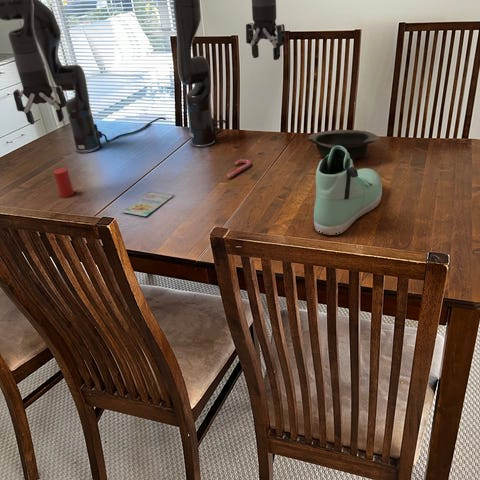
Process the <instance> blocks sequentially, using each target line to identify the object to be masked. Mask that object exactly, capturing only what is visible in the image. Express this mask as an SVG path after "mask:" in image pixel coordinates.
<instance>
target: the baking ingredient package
mask: <svg viewBox="0 0 480 480" xmlns="http://www.w3.org/2000/svg"><path fill="white" fill-rule="evenodd" d="M172 197H173V195H170V194H164V193H158V192H154V191H153V192H152V191H150V192H149V193H147V194H146V195H144V196H142V197H141V198H139V199H138V200H137V201H135V202H133V204H131V205H130V206H128V207H127V208H125V209H124V210H122V211H121V212H122V213H126V214H130V215H136V216H140V217H141V216H142V217H148V215H149V214H151V213H152V212H153V211H156V209H157V208H159V207H160V206H162V205H163V204H164V203H166V202H167V201H168V200H169V199H171V198H172Z"/></svg>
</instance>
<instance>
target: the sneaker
mask: <svg viewBox="0 0 480 480" xmlns="http://www.w3.org/2000/svg"><path fill="white" fill-rule="evenodd" d="M317 165H318V166H317V168H316V172H315V201H314V207H313V225H314V229H315V231H316V232H318V233H320V234H323V235H326V236H327V235H328V236H336V235H339V234H342V233H344V232H345V231H347V230H348V229H349V228H350V227H351V226H352V225H353V224H354V222H356V221H357V220H358V219H359V218H360V217H362V216H363V215H365V214H367V213H370V212H372V210H374V209H375V208H377V207H378V205H380V203H381V200H382V196H383V184H382V183H383V182H382V179H381V176H380V175H379V173H378V172H377V171H376V170H374V169H372V168H367V167H365V168H358V169H357V168H355V167H354V161H352V159H350V156H349V153H348V152H347V150H346V149H345V148H344V147H342V146H334V147H333V148H332V149H331V152H330V154H329V155H327V156H326V157H323V158H322V159H321V160H320V161H319V163H318V164H317ZM343 230H344V231H343ZM319 231H320V232H319ZM322 232H323V233H322ZM339 232H340V233H339ZM326 233H327V234H326ZM328 233H329V234H328ZM335 233H337V234H335Z"/></svg>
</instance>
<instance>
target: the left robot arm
mask: <svg viewBox="0 0 480 480" xmlns="http://www.w3.org/2000/svg"><path fill="white" fill-rule="evenodd" d="M0 20H1V21H5V22H7V21H10V22H11V21H18V20H23V23H22V26H20V27H18V28H15V29H12V30H10V31H9V32H8V33H7V34H8V40H9V43H10V46H11V50H12V53H13V57H14V63H15V66H16V70H17V72H18V76H19V79H20V82H21V86H22V89H15V90H14V91H13V92H12V94H13V98H14V102H15V106H16V110H17V111H18V112H23V113H24V115H25V117H26V120H27V122H28V123H29V124H30V125H31V126H32V125H35V118H34V115H33V112H32V111H33V110H31V108H32V106H33V105H34V104H35V105H39V104H47V103H48V104H49V105H50V106H52V107H54V108H55V109H56V110H55V112H56V116H57V120H58V122H60V123H62V122H63V120H64V119H65V115H64V112H63V108H65V110H66V114H67V115H66V116H67V118H68V122H69V126H70V130H71V133H72V137H73V142H74V145H75V150H76V152H77V153H80V154H87V153H92V152H96V151H97V150H99V149H100V148H102V142H101V139H102V138H103V137H104V140H105V141H106V142H107V143H109V142H112V141H114V140H116V139H118V138H121V137H124V136H129V135H133V134H136V133H139V132H141V131H142V130H145V129H146V128H148V126H150V125H152V124H153V123H156V122H157V121H159V120H164V121H166V120H167V118H165V117H163V116H162V117H157V118H156V119H153V120H152V121H150V122H148V123H146V125H144V126H142V127H141V128H139V129H137V130H134V131H130V132H126V133H122V134H119V135H117V136H115V137H113V138H112V139H108V137H107V135H106V134H105V133H102V131H101V130H99V129H98V125H97V123H95V121H94V116H93V113H92V108H91V104H90V95H89V90H88V84H87V79H86V74H85V72H84V69H83V67H82V66H81V65H79V64H66V65H63V64H62V63H61V61H60V57H59V47H60V43H61V38H62V31H61V29H60V26H59V25H60V24H59V23H58V21H57V18H56V16H55V14H54V12H53V10H51V8H49V7H48V6H47V5H46V4H45V3H44V2H42V1H40V0H0ZM41 53H42V54H41ZM42 55H43V56H42ZM43 58H44V59H43ZM44 60H45V62H44ZM45 63H46V65H47V67H48V70H49V73H50V75H51V78H52V80H53V83H54V85H55V86H51V84H50V81H49V77H48V74H47V70H46V65H45ZM71 91H72V92H73V91H74V96H73V97H71V98H69V99H66V95H65V93H64V92H71ZM53 92H54V93H55V95H57V97H58V100H59V101H58V100H57V99H56V97H54V96H53V95H52V94H53ZM23 96H24V97H25V98H27V102H26V103H25V106H24V104H23V99H22V98H23Z"/></svg>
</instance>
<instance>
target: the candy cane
mask: <svg viewBox="0 0 480 480" xmlns="http://www.w3.org/2000/svg"><path fill="white" fill-rule="evenodd" d="M240 164H243V165H242V166H240V167H238V168H237V169H235V170H234V171H232V172H230V173H228V174H227V175H226V178H227V179H229V180H230V179H232V178H233V177H235V176H236V175H239V174H240V173H241V172H243V171H245V170H246V169H247V168H250V167H251V165H252V162H251V160H249V159H247V158H246V159H243V158H242V159H238V160H236V161H234V163H233V165H234V166H236V167H237V166H238V165H240Z"/></svg>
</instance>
